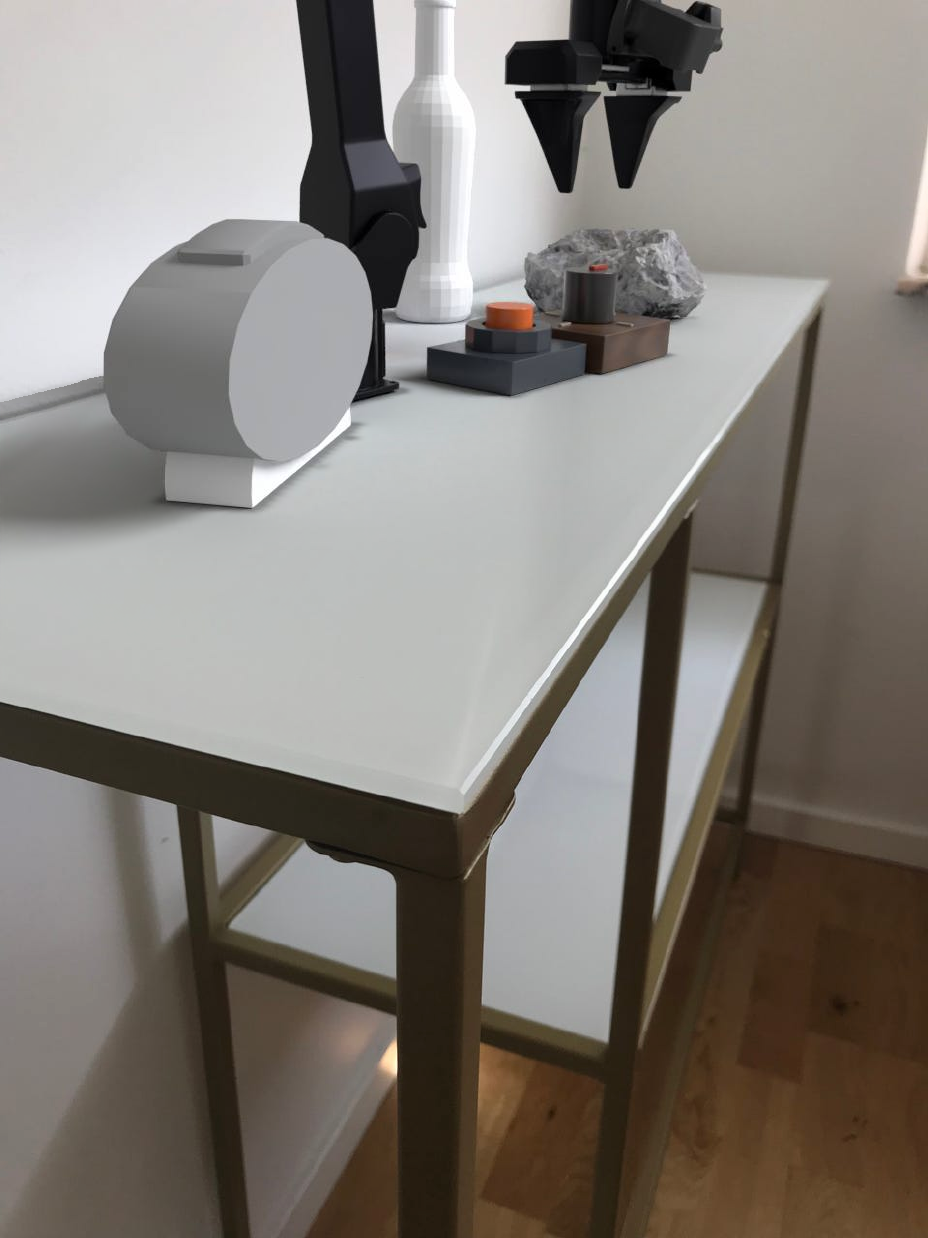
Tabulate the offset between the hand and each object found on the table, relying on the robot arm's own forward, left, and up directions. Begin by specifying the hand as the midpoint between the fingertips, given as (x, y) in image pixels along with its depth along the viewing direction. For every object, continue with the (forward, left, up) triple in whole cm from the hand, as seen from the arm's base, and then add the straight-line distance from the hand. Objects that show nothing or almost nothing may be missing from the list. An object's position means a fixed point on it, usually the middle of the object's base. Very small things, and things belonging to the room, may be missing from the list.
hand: (596, 190), depth 83 cm
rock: (+20, +9, -13) cm, 26 cm away
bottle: (+6, +22, -13) cm, 26 cm away
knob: (0, 0, -10) cm, 10 cm away
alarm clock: (-39, -3, -13) cm, 41 cm away
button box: (-12, 0, -13) cm, 17 cm away
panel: (0, 0, -13) cm, 13 cm away
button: (-12, 0, -9) cm, 15 cm away
